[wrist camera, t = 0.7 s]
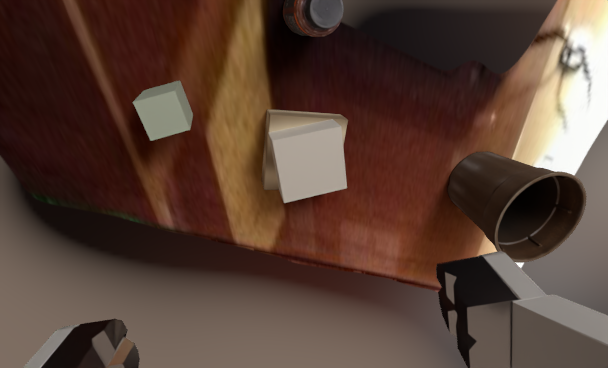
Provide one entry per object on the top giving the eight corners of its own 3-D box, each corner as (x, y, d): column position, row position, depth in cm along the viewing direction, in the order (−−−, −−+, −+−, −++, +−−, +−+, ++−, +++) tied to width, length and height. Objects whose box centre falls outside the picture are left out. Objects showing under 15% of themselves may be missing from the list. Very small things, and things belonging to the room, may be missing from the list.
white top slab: (268, 132, 51) (272, 140, 48) (332, 119, 53) (341, 126, 49) (279, 191, 56) (284, 203, 52) (338, 177, 57) (347, 188, 54)
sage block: (144, 90, 48) (132, 102, 41) (179, 80, 49) (174, 90, 42) (159, 124, 50) (150, 141, 43) (192, 114, 51) (190, 129, 44)
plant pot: (420, 192, 67) (476, 239, 53) (478, 123, 63) (555, 153, 49) (469, 226, 74) (530, 276, 60) (523, 166, 70) (602, 203, 56)
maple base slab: (266, 108, 54) (270, 114, 50) (339, 113, 57) (347, 119, 53) (261, 179, 58) (264, 189, 55) (328, 180, 62) (335, 190, 58)
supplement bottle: (311, 42, 51) (336, 48, 41) (275, 22, 48) (291, 23, 38) (330, 1, 49) (361, -4, 39) (293, -22, 47) (315, -33, 37)
